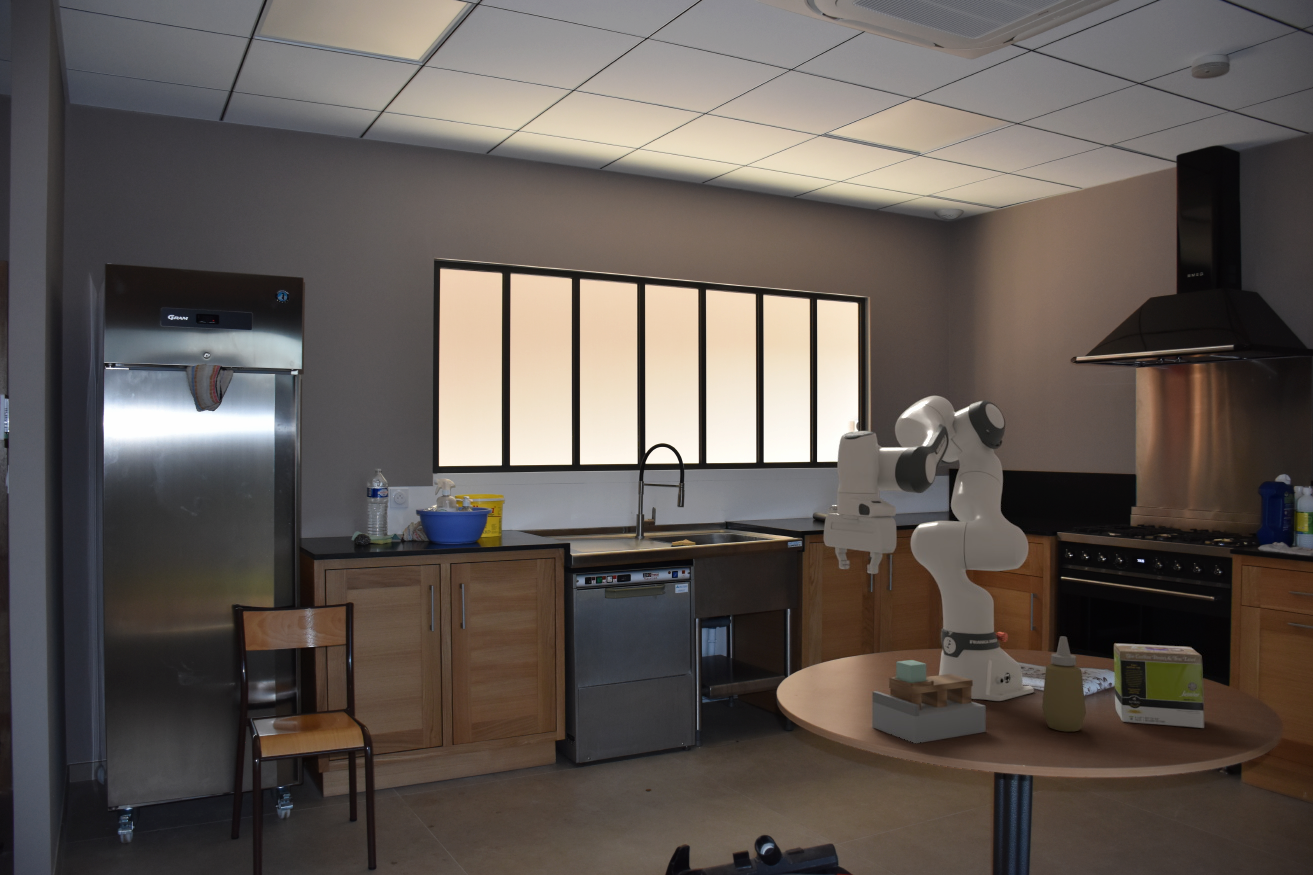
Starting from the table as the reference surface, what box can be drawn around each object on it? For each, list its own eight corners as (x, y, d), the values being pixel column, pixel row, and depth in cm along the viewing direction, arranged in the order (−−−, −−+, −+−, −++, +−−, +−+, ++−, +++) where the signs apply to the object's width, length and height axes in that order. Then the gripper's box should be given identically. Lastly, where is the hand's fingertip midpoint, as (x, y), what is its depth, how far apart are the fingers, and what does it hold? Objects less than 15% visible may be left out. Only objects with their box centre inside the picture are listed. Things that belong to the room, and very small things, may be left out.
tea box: (1193, 717, 194) (1193, 645, 195) (1204, 730, 185) (1204, 654, 185) (1113, 710, 199) (1113, 640, 200) (1120, 722, 190) (1120, 649, 190)
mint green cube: (911, 680, 184) (911, 659, 185) (926, 684, 181) (926, 663, 181) (896, 682, 183) (896, 661, 183) (910, 686, 179) (910, 665, 179)
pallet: (950, 695, 190) (950, 669, 190) (972, 702, 185) (972, 675, 185) (889, 704, 183) (889, 677, 183) (910, 711, 178) (910, 683, 178)
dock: (940, 716, 193) (940, 682, 193) (985, 731, 182) (985, 695, 182) (872, 727, 185) (872, 691, 185) (915, 743, 174) (915, 705, 174)
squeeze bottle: (1083, 736, 180) (1082, 642, 180) (1038, 729, 184) (1037, 637, 184) (1089, 726, 186) (1088, 635, 187) (1045, 720, 191) (1045, 631, 191)
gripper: (816, 504, 209) (816, 566, 208) (877, 508, 190) (877, 576, 190) (839, 504, 211) (839, 565, 211) (901, 508, 193) (901, 575, 193)
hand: (858, 570), depth 200 cm, fingers open, 8 cm apart
